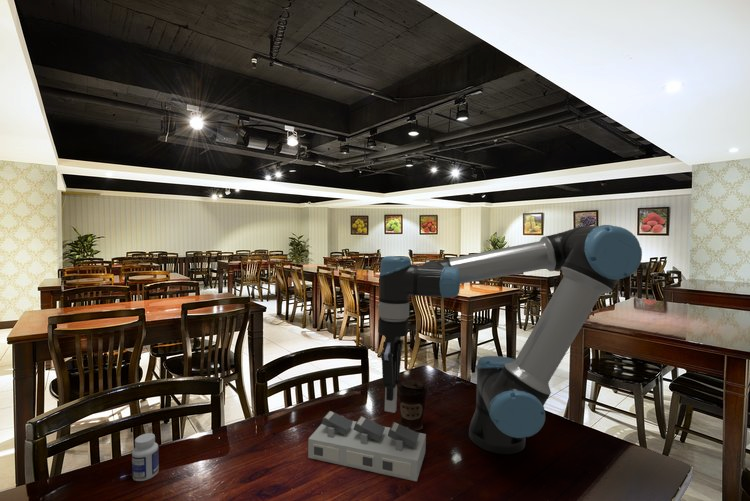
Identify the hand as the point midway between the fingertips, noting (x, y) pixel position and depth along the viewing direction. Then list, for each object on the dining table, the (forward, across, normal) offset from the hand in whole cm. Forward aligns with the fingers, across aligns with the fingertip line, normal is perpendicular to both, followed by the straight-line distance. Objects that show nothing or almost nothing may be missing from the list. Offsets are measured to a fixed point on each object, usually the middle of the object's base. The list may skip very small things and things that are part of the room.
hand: (390, 410), depth 93 cm
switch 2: (+7, 0, -6) cm, 9 cm away
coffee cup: (+13, -18, +2) cm, 22 cm away
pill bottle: (+14, +24, -53) cm, 59 cm away
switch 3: (+7, 0, +3) cm, 8 cm away
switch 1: (+7, 0, -15) cm, 16 cm away
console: (+13, 0, -6) cm, 14 cm away
